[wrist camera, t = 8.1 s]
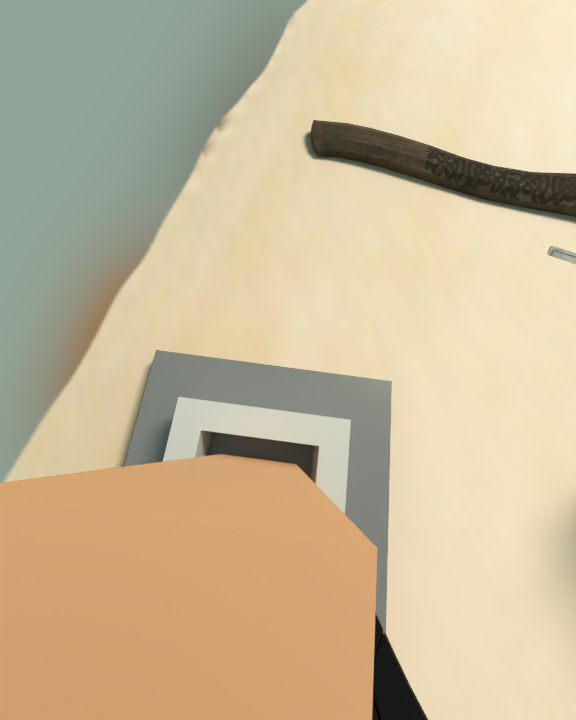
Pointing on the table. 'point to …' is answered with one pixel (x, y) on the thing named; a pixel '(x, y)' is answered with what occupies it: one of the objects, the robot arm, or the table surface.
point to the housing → (277, 430)
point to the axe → (449, 170)
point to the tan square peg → (184, 596)
